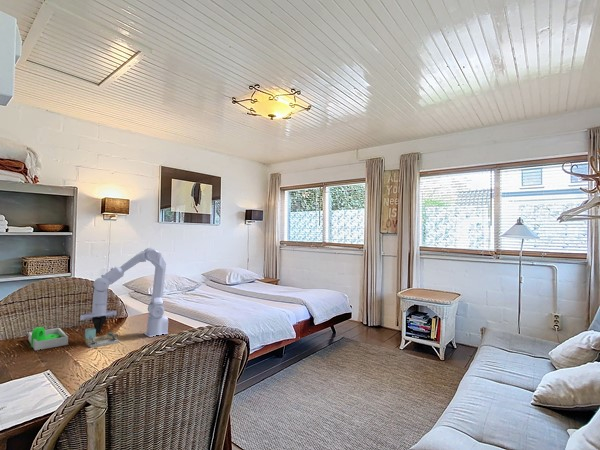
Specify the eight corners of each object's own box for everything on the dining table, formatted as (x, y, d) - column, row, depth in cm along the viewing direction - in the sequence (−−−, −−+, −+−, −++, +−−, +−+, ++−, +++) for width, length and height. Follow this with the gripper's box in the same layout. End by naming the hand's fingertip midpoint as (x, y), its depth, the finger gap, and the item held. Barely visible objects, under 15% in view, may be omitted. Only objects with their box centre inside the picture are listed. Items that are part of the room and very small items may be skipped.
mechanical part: (45, 347, 141) (46, 329, 141) (31, 347, 141) (31, 329, 141) (62, 338, 153) (63, 321, 153) (48, 338, 153) (49, 321, 153)
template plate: (115, 339, 154) (115, 337, 154) (118, 342, 151) (119, 340, 151) (87, 345, 146) (87, 342, 146) (90, 348, 142) (90, 345, 142)
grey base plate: (115, 337, 158) (116, 331, 158) (120, 340, 153) (121, 334, 154) (84, 342, 149) (85, 336, 149) (89, 346, 144) (89, 339, 144)
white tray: (59, 335, 157) (59, 327, 157) (67, 344, 145) (68, 336, 145) (28, 340, 149) (28, 332, 149) (34, 350, 137) (35, 342, 137)
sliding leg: (93, 338, 151) (94, 327, 151) (97, 342, 146) (98, 331, 147) (84, 339, 149) (85, 328, 149) (88, 343, 144) (89, 332, 144)
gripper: (114, 300, 160) (112, 328, 159) (79, 304, 149) (77, 333, 149) (118, 302, 155) (117, 331, 154) (83, 306, 144) (81, 337, 144)
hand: (97, 332), depth 151 cm, fingers closed
